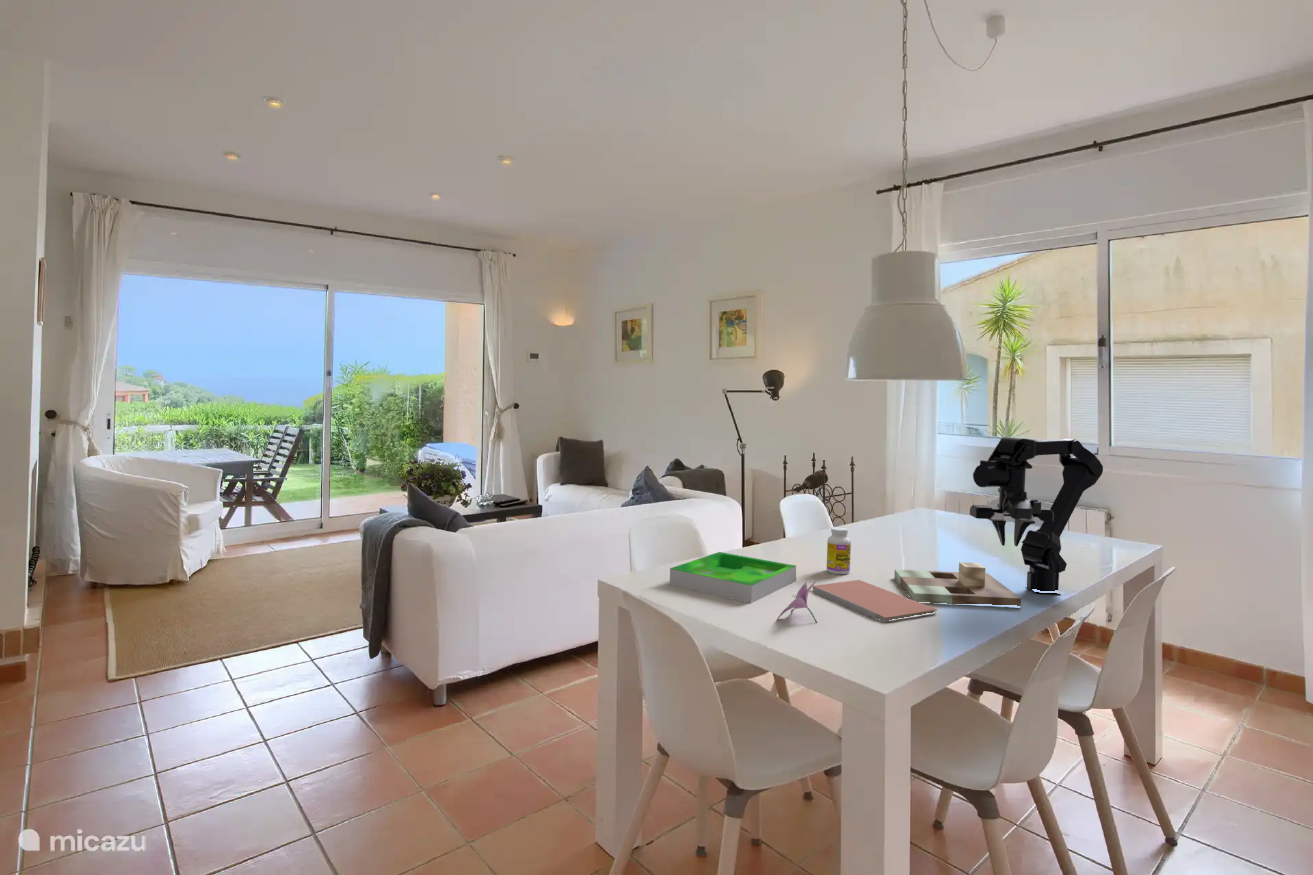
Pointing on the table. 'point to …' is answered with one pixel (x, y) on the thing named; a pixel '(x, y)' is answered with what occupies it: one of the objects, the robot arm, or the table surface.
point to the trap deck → (953, 589)
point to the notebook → (872, 600)
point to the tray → (733, 576)
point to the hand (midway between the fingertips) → (1009, 545)
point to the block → (971, 574)
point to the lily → (800, 600)
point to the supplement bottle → (838, 551)
